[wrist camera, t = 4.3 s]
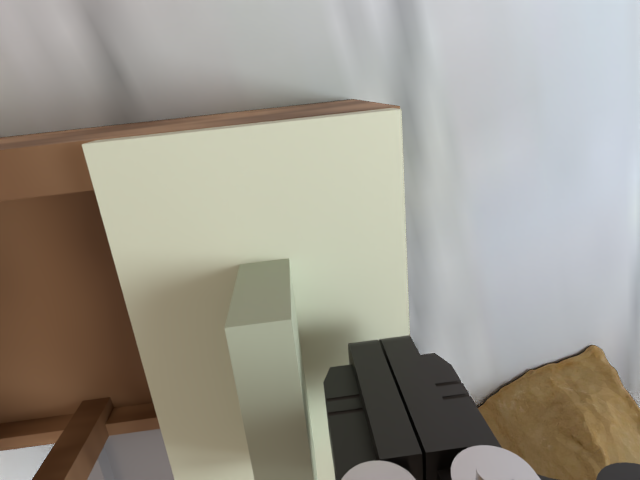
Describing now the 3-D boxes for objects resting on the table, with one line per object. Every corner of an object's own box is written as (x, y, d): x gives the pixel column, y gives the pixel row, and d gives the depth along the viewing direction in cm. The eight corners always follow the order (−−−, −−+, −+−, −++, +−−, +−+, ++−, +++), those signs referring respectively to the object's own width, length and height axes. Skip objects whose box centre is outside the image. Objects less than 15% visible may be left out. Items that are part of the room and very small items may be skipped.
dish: (264, 386, 22) (263, 405, 21) (287, 516, 25) (287, 540, 24) (82, 410, 22) (69, 431, 20) (127, 540, 25) (118, 566, 23)
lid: (392, 107, 11) (450, 117, 7) (409, 494, 15) (450, 626, 11) (96, 140, 10) (-5, 168, 7) (198, 525, 14) (170, 671, 11)
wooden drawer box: (355, 98, 18) (404, 105, 11) (374, 357, 22) (417, 485, 15) (-133, 151, 17) (-427, 196, 10) (-19, 410, 21) (-170, 571, 14)
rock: (411, 551, 24) (604, 564, 23) (451, 638, 15) (750, 662, 15) (408, 343, 27) (576, 351, 26) (439, 325, 19) (683, 336, 18)
